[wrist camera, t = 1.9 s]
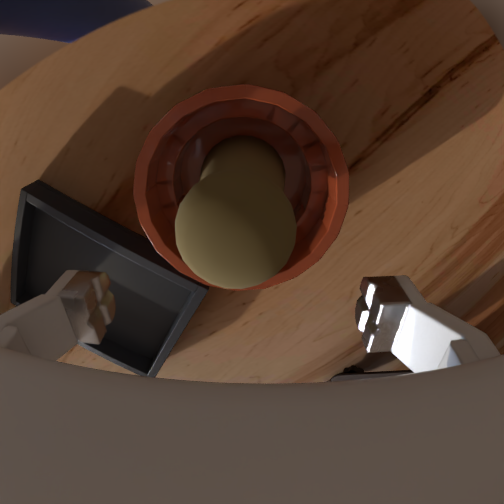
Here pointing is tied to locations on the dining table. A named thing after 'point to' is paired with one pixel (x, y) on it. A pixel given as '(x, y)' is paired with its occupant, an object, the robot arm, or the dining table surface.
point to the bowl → (249, 124)
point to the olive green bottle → (237, 215)
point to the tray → (114, 264)
